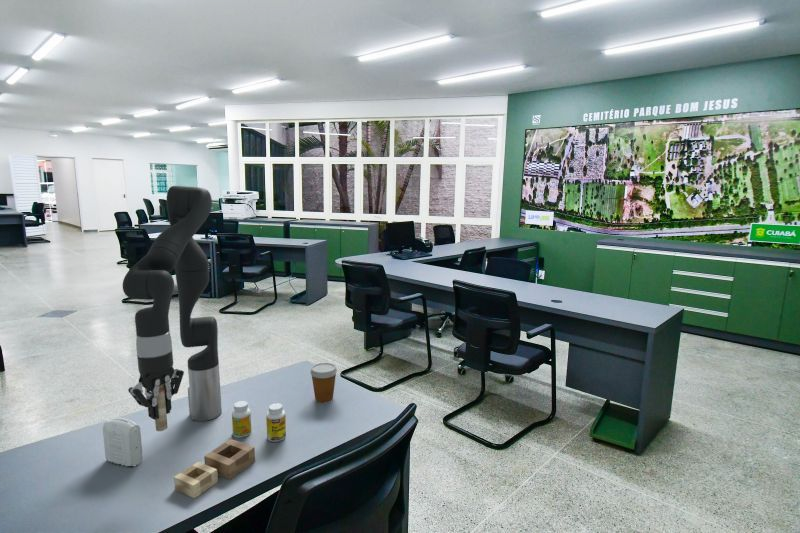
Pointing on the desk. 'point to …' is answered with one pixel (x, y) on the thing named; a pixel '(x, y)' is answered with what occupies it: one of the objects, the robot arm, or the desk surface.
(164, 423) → the wooden peg
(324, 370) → the disposable coffee cup
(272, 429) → the supplement bottle
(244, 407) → the supplement bottle
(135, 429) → the photo printer
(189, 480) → the light wood hollow block
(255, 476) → the desk surface
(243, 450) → the brown wooden square frame
